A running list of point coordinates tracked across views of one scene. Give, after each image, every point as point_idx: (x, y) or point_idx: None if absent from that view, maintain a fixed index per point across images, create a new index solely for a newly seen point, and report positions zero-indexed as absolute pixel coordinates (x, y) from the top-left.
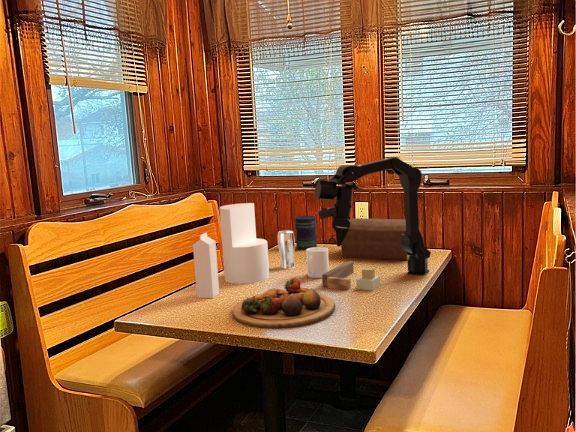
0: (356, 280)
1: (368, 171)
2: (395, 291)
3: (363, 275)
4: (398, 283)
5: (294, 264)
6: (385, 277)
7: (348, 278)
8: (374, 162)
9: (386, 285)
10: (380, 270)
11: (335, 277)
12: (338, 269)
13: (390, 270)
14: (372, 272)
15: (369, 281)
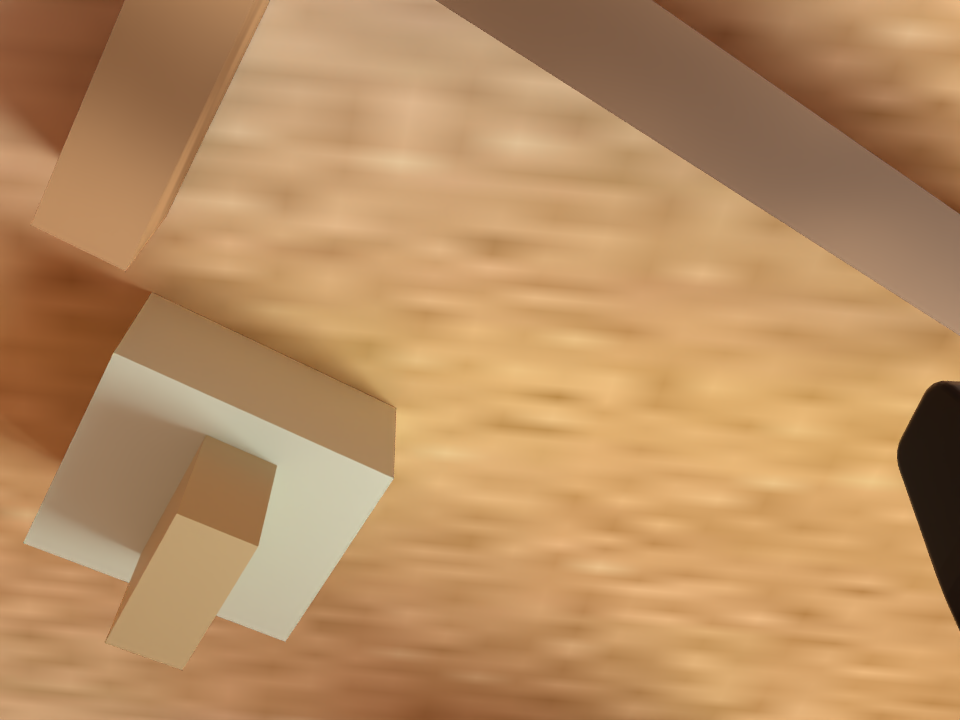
0: (119, 345)
1: None
2: (23, 661)
3: (188, 473)
4: (339, 712)
5: None
6: (613, 633)
7: (133, 242)
8: None
9: None
10: (933, 618)
11: (221, 20)
12: (634, 126)
13: (885, 700)
14: (116, 616)
15: (43, 501)
